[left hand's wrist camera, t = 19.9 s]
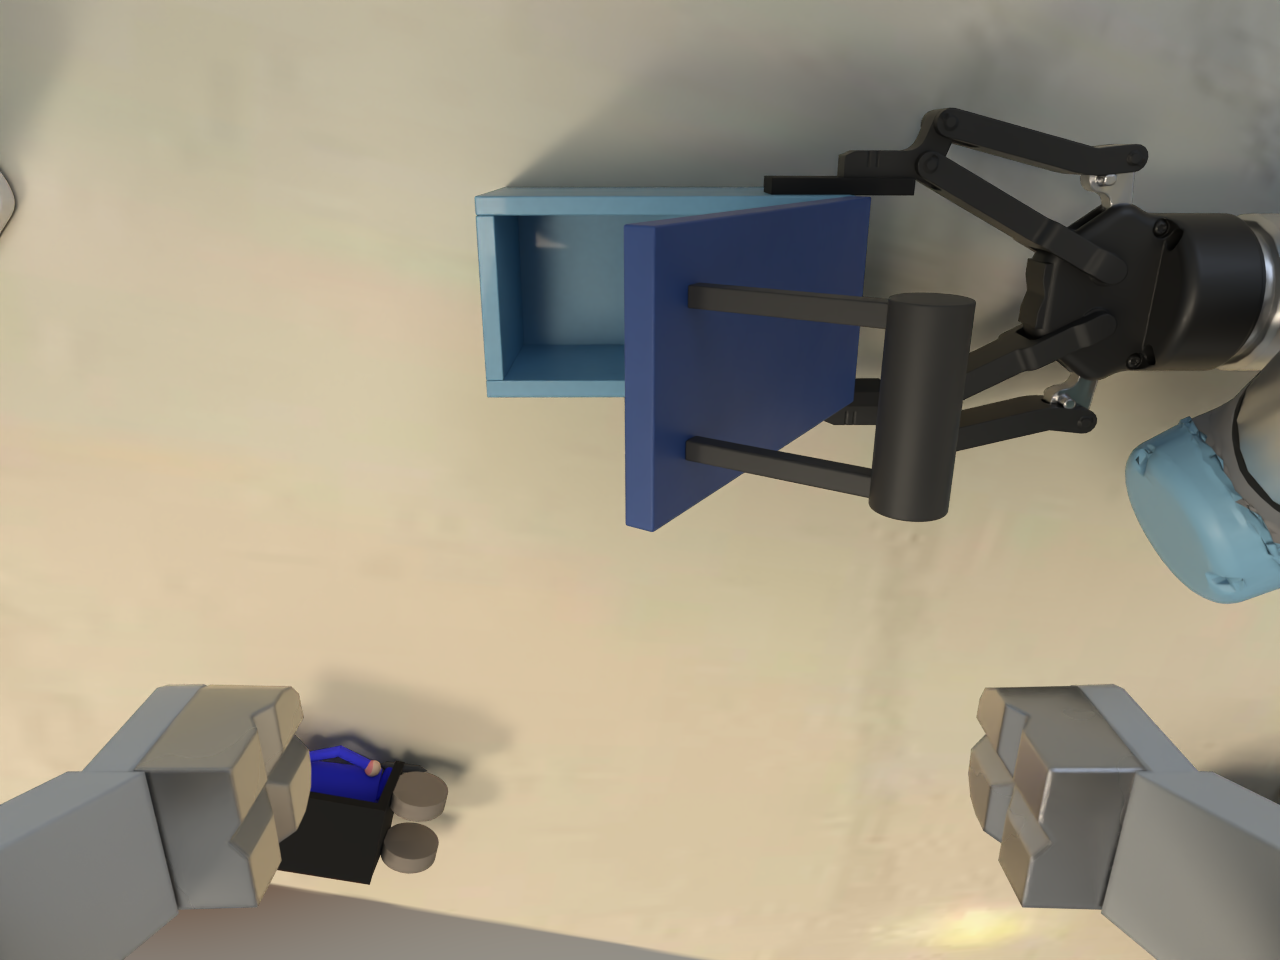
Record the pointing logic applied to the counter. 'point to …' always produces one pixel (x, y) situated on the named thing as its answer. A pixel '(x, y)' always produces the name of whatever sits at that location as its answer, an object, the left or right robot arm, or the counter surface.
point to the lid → (779, 360)
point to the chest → (572, 279)
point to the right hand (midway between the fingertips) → (762, 293)
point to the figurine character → (364, 818)
